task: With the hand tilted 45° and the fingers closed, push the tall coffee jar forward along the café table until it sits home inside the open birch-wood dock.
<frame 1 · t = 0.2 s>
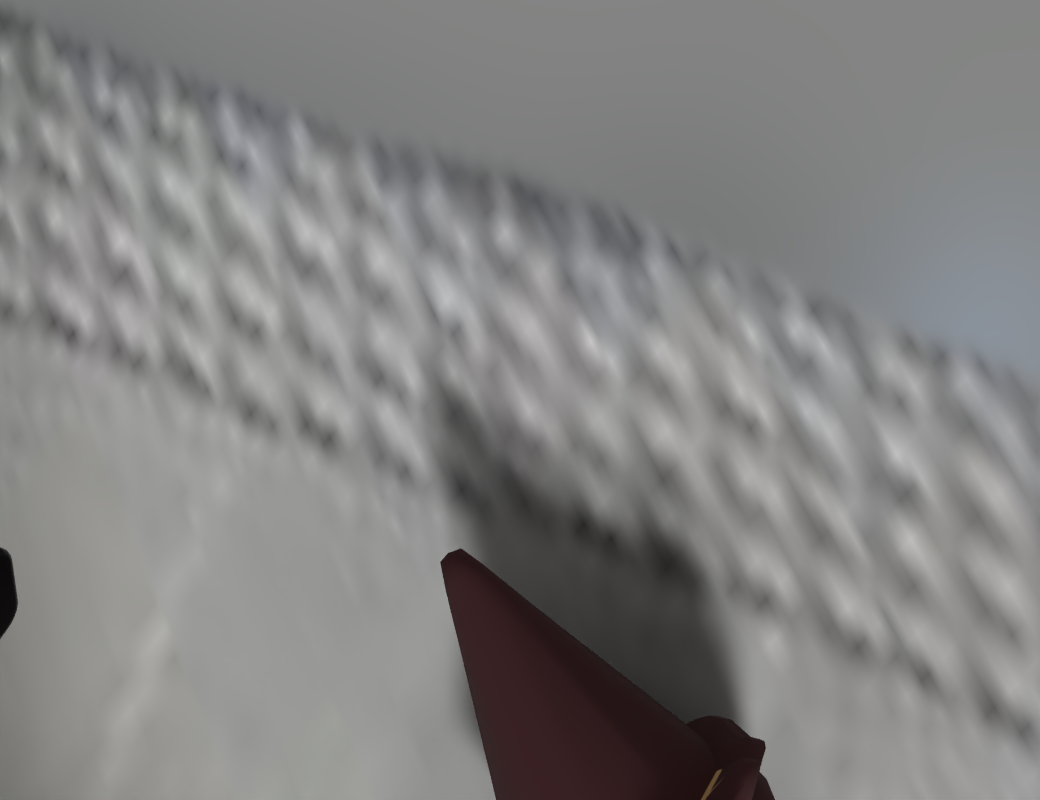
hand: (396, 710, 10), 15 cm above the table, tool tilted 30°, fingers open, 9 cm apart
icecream: (632, 781, 24), on the table
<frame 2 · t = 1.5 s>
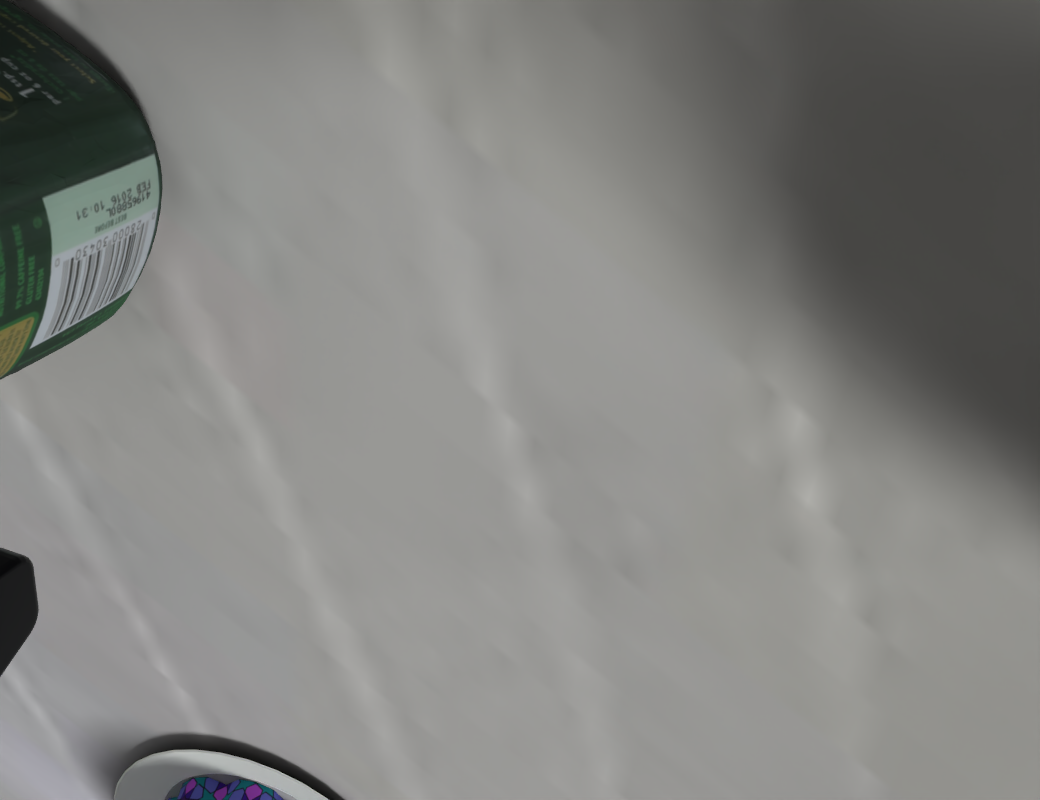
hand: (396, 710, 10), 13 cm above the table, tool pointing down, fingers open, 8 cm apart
coffee jar: (9, 142, 23), on the table
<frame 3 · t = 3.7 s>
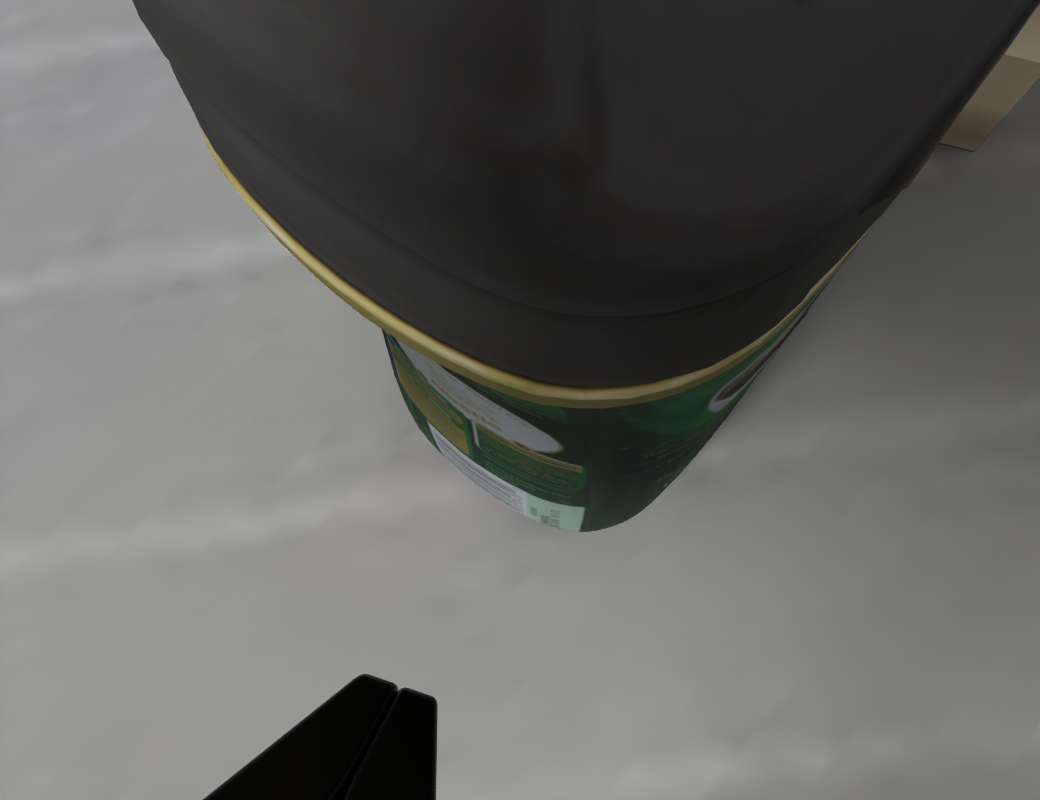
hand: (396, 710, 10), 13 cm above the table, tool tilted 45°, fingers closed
coffee jar: (585, 350, 25), on the table
dock: (658, 120, 26), on the table
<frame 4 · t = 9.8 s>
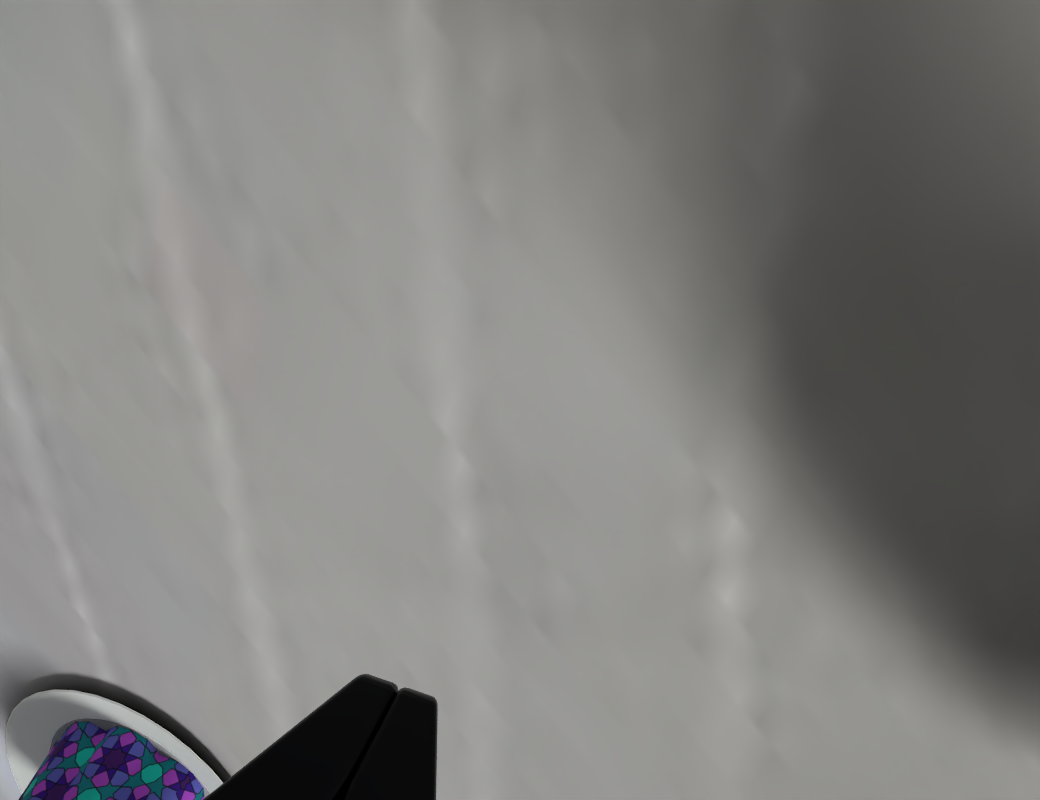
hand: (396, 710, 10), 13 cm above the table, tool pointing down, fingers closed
purple patterned hat: (146, 791, 37), on the table
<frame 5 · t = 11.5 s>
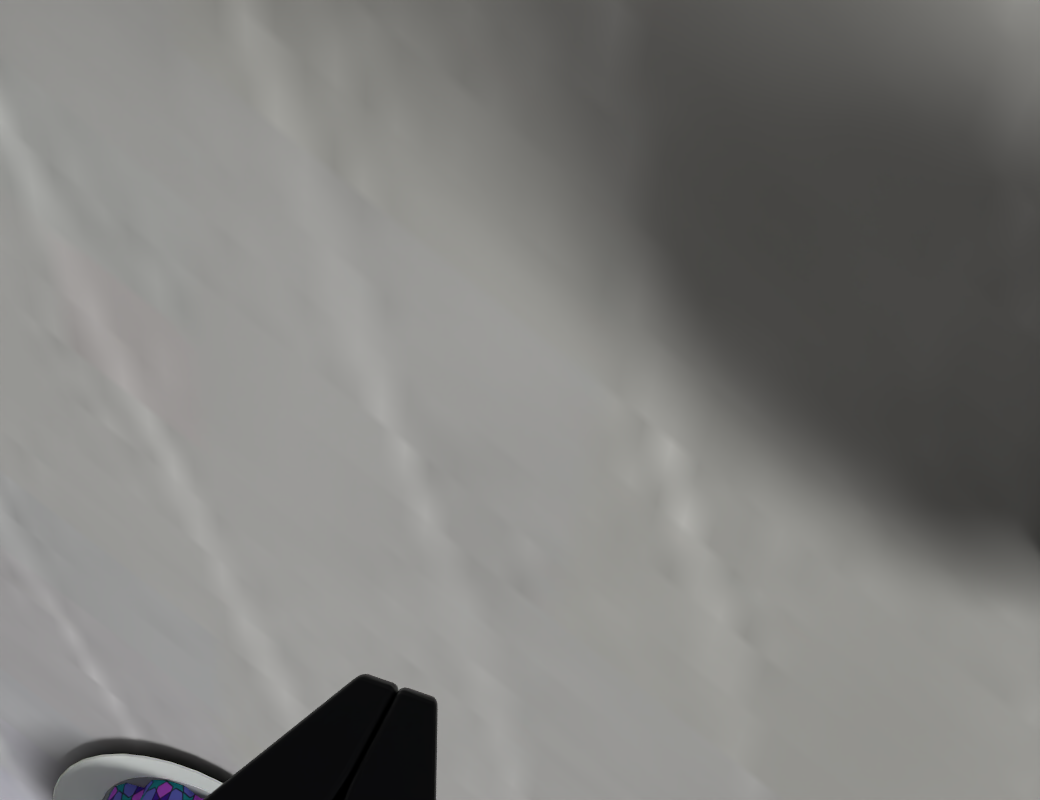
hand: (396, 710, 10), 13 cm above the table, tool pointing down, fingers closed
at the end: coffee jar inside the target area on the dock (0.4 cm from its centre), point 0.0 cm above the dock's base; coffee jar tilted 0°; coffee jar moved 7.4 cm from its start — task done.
